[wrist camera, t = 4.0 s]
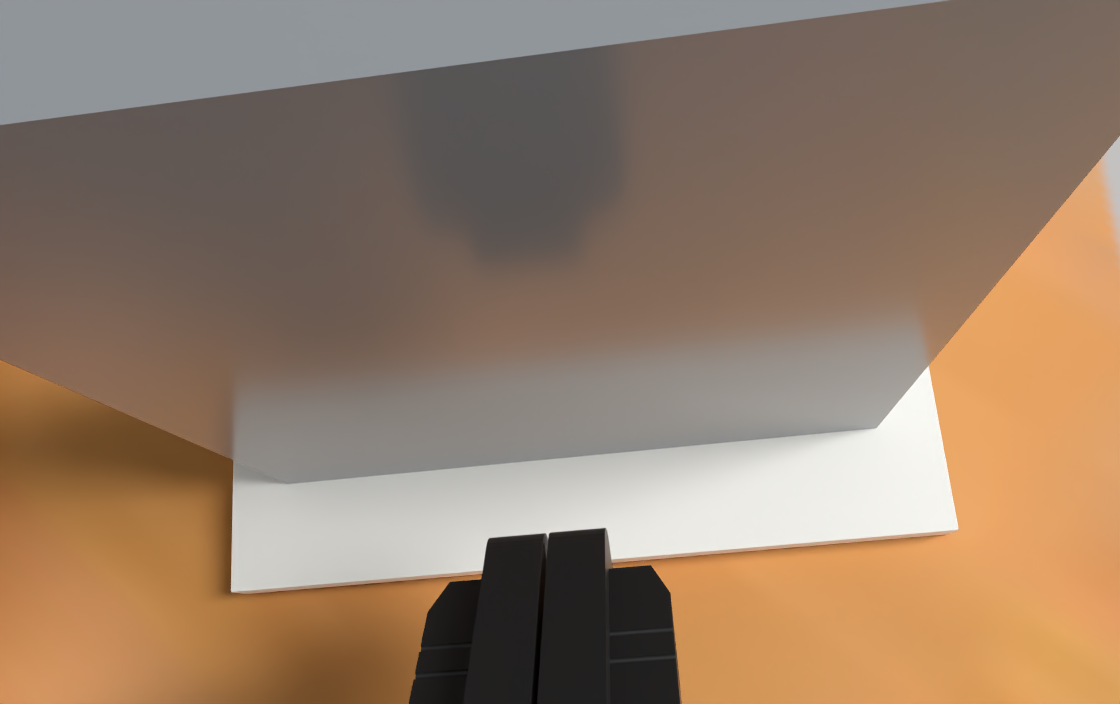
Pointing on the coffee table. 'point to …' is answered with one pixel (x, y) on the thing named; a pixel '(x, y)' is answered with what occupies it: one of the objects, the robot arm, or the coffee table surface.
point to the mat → (600, 504)
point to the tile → (523, 212)
